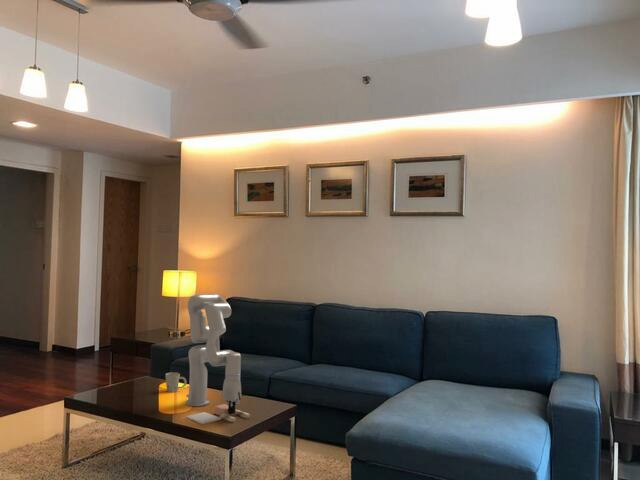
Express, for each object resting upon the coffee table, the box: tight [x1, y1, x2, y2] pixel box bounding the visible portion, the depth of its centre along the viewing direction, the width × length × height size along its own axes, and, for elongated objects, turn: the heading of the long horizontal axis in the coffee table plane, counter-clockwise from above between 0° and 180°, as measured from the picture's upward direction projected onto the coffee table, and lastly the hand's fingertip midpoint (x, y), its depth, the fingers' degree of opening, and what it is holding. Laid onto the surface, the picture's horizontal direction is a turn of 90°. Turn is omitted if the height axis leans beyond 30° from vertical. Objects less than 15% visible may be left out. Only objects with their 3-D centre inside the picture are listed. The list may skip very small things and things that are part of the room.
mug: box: [164, 371, 187, 393], centre depth 308 cm, size 8×13×10 cm, turn 96°
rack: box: [218, 408, 251, 424], centre depth 260 cm, size 11×11×2 cm
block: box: [214, 403, 235, 416], centre depth 265 cm, size 8×6×4 cm
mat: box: [185, 411, 222, 425], centre depth 257 cm, size 14×11×1 cm
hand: (231, 413), depth 261 cm, fingers closed
